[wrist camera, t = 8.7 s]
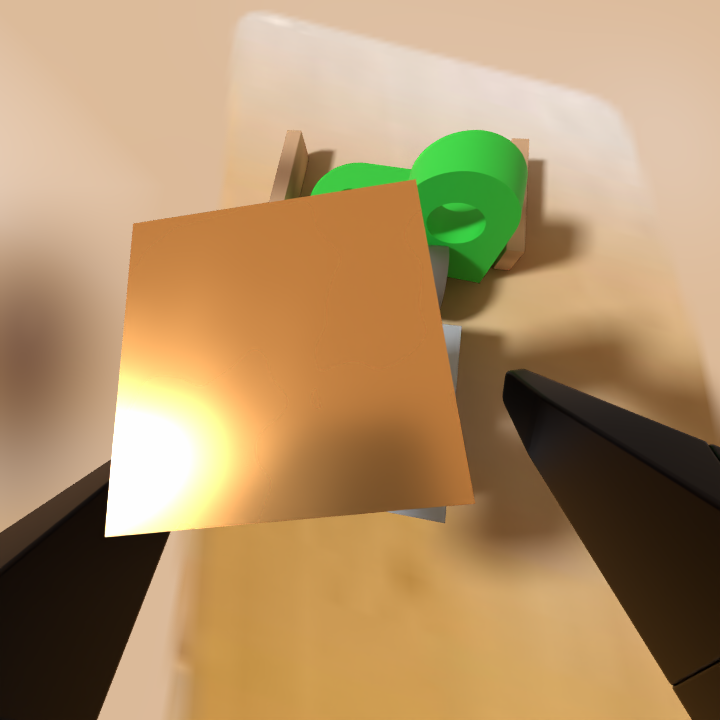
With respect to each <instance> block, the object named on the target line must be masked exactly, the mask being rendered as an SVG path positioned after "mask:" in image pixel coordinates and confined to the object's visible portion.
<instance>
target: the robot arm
mask: <svg viewBox="0 0 720 720" xmlns="http://www.w3.org/2000/svg"><path fill="white" fill-rule="evenodd" d="M503 401H504V404H505V406H506V409H507V411H508V413H509V415H510V417H511V419H512V421H513V423H514V425H515V428H516V430H517V432H518V434H519V436H520V438H521V440H522V442H523V444H524V446H525V448H526V450H527V452H528V454H529V456H530V458H531V459H532V461H533V463H534V464H535V466H536V468H537V469H538V471H539V472H540V474H541V476H542V477H543V479H544V481H545V482H546V484H547V485H548V487H549V489H550V490H551V492H552V494H553V495H554V497H555V498H556V500H557V502H558V503H559V505H560V506H561V508H562V510H563V511H564V513H565V515H566V516H567V518H568V519H569V521H570V523H571V524H572V526H573V528H574V529H575V531H576V532H577V534H578V536H579V537H580V539H581V540H582V542H583V544H584V545H585V547H586V549H587V550H588V552H589V553H590V555H591V557H592V558H593V560H594V562H595V563H596V565H597V566H598V568H599V570H600V571H601V573H602V574H603V576H604V578H605V579H606V581H607V583H608V584H609V586H610V587H611V589H612V591H613V592H614V594H615V596H616V597H617V599H618V600H619V602H620V604H621V605H622V607H623V608H624V610H625V612H626V613H627V615H628V617H629V618H630V620H631V621H632V623H633V625H634V626H635V628H636V629H637V631H638V633H639V634H640V636H641V638H642V639H643V641H644V642H645V644H646V646H647V647H648V649H649V651H650V652H651V654H652V655H653V657H654V659H655V660H656V662H657V663H658V665H659V667H660V668H661V670H662V672H663V673H664V675H665V676H666V678H667V680H668V681H669V683H670V684H671V685H673V690H674V692H675V693H676V695H677V696H678V698H679V700H680V701H681V703H682V705H683V706H684V708H685V709H686V711H687V713H688V714H689V716H690V717H691V719H692V720H720V447H718V446H716V445H713V444H710V445H708V444H707V442H705V441H703V440H700V439H698V438H695V437H693V436H690V435H688V434H685V433H683V432H680V431H678V430H675V429H673V428H670V427H668V426H665V425H663V424H660V423H658V422H655V421H653V420H650V419H648V418H645V417H643V416H640V415H638V414H635V413H633V412H630V411H628V410H625V409H623V408H620V407H618V406H616V405H613V404H611V403H608V402H606V401H603V400H601V399H598V398H596V397H593V396H591V395H588V394H586V393H583V392H581V391H578V390H576V389H573V388H571V387H568V386H566V385H563V384H561V383H558V382H556V381H553V380H551V379H548V378H546V377H543V376H541V375H538V374H536V373H533V372H531V371H528V370H526V369H518V370H511V371H508V372H507V373H506V375H505V381H504V389H503ZM111 464H112V459H111V460H110V461H108V462H106V463H105V464H103V465H102V466H101V467H99V468H97V469H96V470H94V471H93V472H91V473H90V474H88V475H87V476H85V477H84V478H82V479H81V480H79V481H78V482H76V483H75V484H73V485H72V486H70V487H69V488H67V489H66V490H64V491H63V492H61V493H60V494H58V495H57V496H55V497H54V498H52V499H51V500H49V501H48V502H46V503H45V504H43V505H42V506H40V507H39V508H37V509H35V510H34V511H33V512H31V513H30V514H28V515H27V516H25V517H24V518H22V519H20V520H19V521H18V522H16V523H15V524H13V525H12V526H10V527H8V528H7V529H5V530H4V531H2V532H1V533H0V720H97V719H98V716H99V714H100V711H101V708H102V706H103V703H104V701H105V698H106V696H107V693H108V691H109V688H110V685H111V683H112V680H113V678H114V675H115V673H116V670H117V667H118V665H119V662H120V660H121V657H122V655H123V652H124V649H125V647H126V644H127V642H128V639H129V636H130V634H131V632H132V629H133V626H134V624H135V621H136V619H137V616H138V614H139V611H140V609H141V606H142V603H143V601H144V598H145V596H146V593H147V591H148V588H149V586H150V583H151V580H152V578H153V575H154V573H155V570H156V567H157V565H158V562H159V560H160V557H161V555H162V552H163V550H164V547H165V545H166V542H167V539H168V537H169V534H170V532H171V531H165V532H154V533H143V534H132V535H121V536H110V537H105V530H106V519H107V508H108V497H109V486H110V475H111Z"/></svg>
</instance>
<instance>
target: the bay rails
mask: <svg viewBox="0 0 720 720" xmlns="http://www.w3.org/2000/svg"><path fill="white" fill-rule="evenodd" d="M511 142H512V143H513V144H515V145H516V146H517V148H518V149H519V150H520V151H521V153H522V154H523V156H524V158H525V161H526V164H527V169H528V156H529V139H514V138H513V139H512V141H511ZM308 159H309V156H308V153H307V149H306V146H305V142H304V139H303V135H302V132H301V131H294V130H287V134H286V138H285V142H284V146H283V150H282V153H281V157H280V161H279V165H278V169H277V173H276V177H275V181H274V185H273V189H272V192H271V196H270V200H269V202H274V201H281V200H287V199H293V198H300V193H301V189H302V185H303V180H304V176H305V172H306V167H307V163H308ZM527 182H528V178H527ZM526 208H527V184H526V190H525V196H524V202H523V208H522V214H521V219H520V223H519V225H518V228H517V229H516V231H515V232H514V234H513V235H512V237H511V238H510V240H509V241H508V243H507V244H506V246H505V247H504V248H503V250H502V251H501V253H500V254H499V256H498V257H497V259H496V260H495V261H494V268H493V269H502V270H510V269H511V268H512V267H513V265H514V264H515V263H516V262H517V261H518V259H519V258H520V257H521V256H522V255H523V253H524V252H525V234H526Z"/></svg>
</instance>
